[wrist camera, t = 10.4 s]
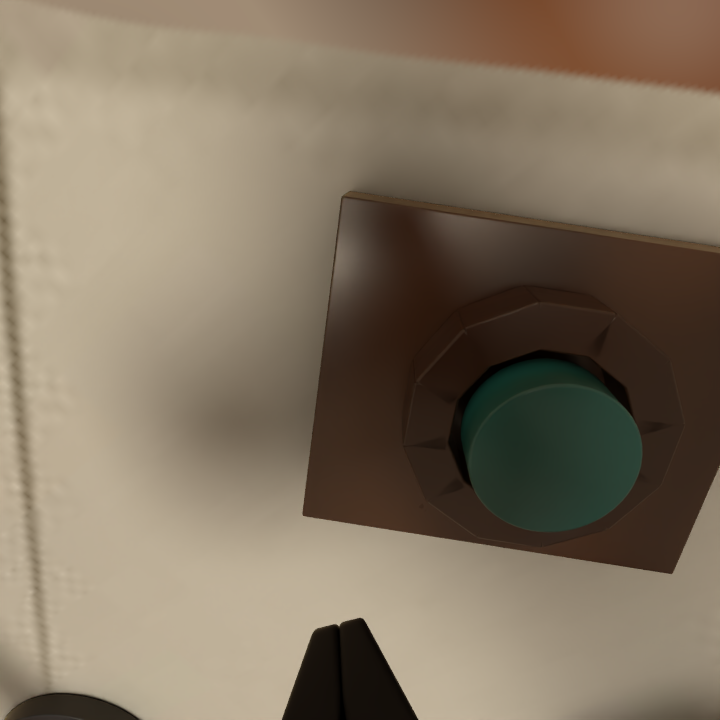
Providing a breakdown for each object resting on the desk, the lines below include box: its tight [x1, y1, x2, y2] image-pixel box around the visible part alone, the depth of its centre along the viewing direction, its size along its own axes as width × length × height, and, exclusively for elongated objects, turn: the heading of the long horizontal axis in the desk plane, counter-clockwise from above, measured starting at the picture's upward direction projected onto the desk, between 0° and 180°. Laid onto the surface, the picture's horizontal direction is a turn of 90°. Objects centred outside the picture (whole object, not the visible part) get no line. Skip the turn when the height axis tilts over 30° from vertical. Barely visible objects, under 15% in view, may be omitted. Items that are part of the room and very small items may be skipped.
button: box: [461, 358, 642, 532], centre depth 14 cm, size 4×4×2 cm
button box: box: [302, 191, 720, 574], centre depth 16 cm, size 12×10×4 cm
